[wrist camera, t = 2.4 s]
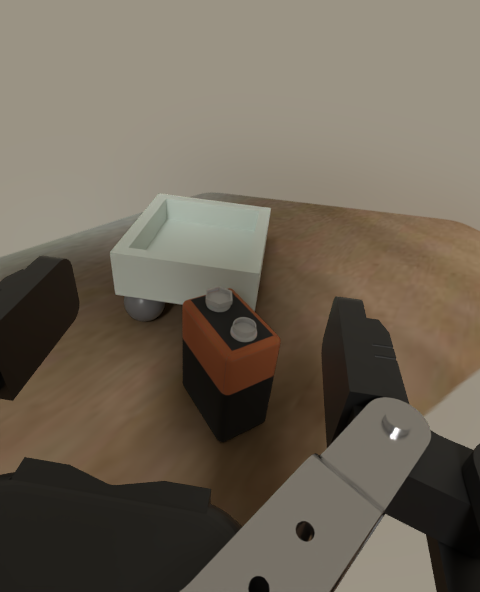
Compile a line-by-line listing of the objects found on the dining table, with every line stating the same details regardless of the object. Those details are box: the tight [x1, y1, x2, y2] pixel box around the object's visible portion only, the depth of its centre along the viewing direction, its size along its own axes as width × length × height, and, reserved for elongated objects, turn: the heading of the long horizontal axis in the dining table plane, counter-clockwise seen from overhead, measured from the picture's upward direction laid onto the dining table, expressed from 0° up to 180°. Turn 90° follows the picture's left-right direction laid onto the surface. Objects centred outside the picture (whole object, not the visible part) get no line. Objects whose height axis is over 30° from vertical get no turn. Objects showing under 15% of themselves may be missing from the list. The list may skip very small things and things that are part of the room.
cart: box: [110, 194, 271, 321], centre depth 41 cm, size 14×13×8 cm
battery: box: [182, 286, 280, 442], centre depth 29 cm, size 4×7×10 cm, turn 32°
